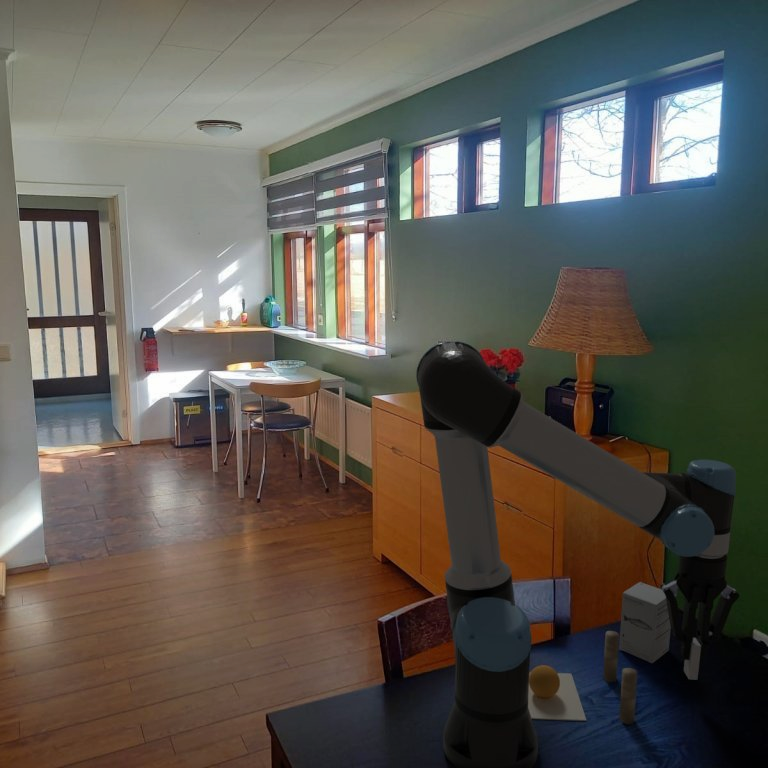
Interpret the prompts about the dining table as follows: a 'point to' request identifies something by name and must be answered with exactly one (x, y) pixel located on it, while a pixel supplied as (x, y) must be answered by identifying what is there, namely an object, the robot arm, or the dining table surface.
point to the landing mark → (557, 702)
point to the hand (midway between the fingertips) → (690, 675)
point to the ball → (544, 681)
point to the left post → (611, 656)
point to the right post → (628, 695)
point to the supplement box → (644, 622)
